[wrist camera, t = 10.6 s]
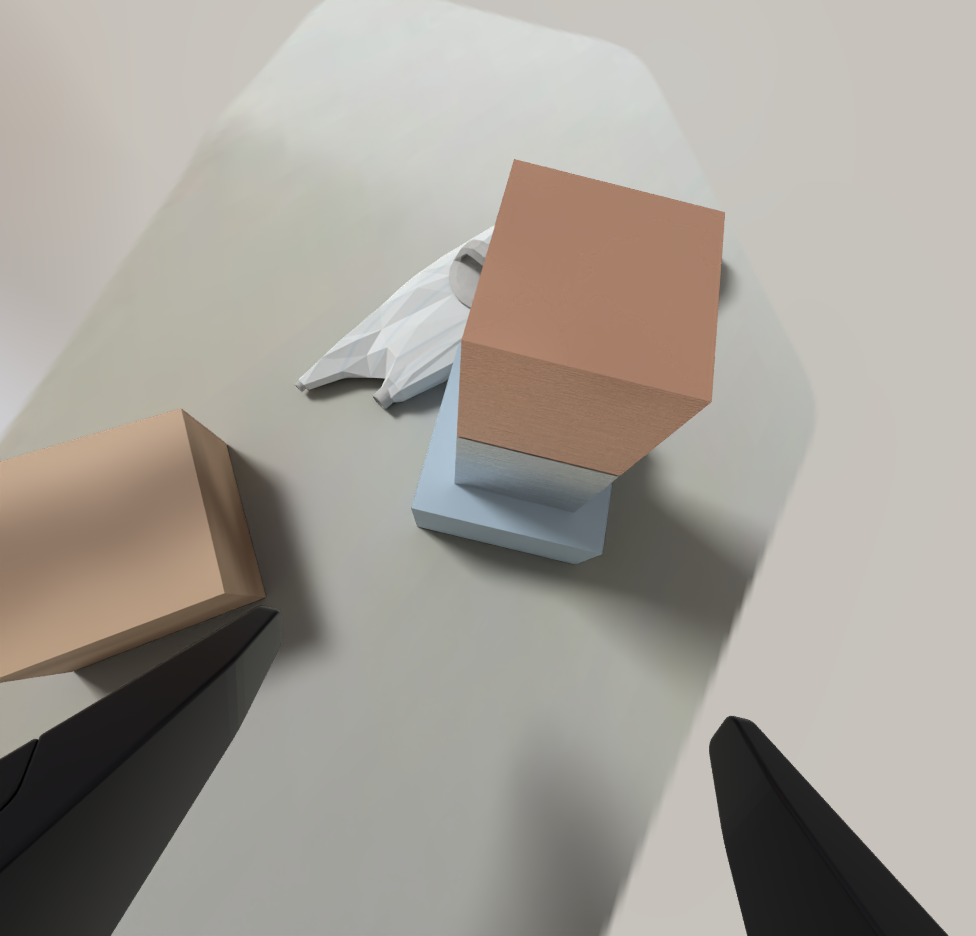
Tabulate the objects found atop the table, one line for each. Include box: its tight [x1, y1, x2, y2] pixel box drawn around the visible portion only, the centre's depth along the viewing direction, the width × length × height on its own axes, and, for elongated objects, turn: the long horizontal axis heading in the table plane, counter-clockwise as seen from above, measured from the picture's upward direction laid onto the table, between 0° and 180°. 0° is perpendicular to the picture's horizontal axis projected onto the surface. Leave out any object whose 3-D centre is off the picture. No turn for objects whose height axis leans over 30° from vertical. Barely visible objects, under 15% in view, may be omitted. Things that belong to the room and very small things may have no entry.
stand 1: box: [0, 409, 266, 683], centre depth 16 cm, size 7×7×4 cm
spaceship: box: [295, 225, 495, 409], centre depth 22 cm, size 23×7×4 cm, turn 114°
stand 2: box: [411, 344, 612, 564], centre depth 19 cm, size 7×7×4 cm
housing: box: [454, 159, 725, 513], centre depth 13 cm, size 4×4×9 cm
